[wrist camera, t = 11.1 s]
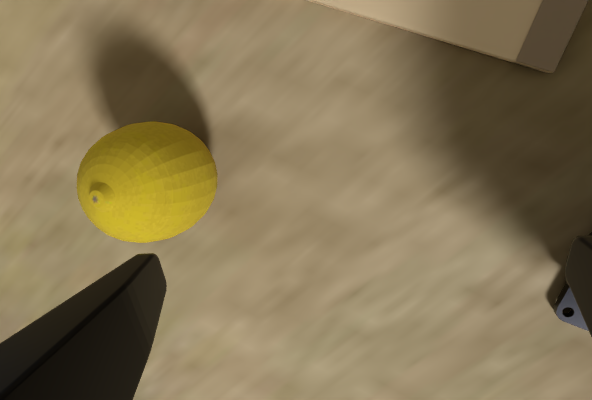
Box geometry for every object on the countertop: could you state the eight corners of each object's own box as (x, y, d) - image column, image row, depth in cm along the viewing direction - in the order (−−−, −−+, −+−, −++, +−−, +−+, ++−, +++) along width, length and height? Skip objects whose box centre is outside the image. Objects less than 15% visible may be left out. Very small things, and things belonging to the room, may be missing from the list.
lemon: (164, 103, 23) (49, 103, 16) (253, 142, 23) (177, 163, 15) (139, 192, 25) (24, 231, 17) (221, 232, 24) (138, 290, 17)
